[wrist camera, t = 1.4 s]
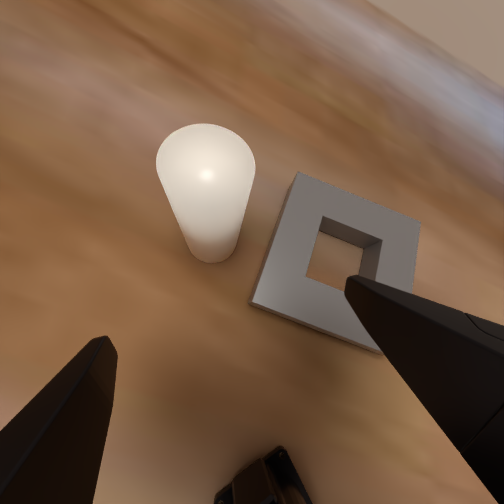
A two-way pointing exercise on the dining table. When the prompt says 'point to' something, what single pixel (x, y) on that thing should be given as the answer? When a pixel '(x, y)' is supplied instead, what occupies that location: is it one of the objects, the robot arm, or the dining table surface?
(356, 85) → the dining table surface
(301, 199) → the collar block
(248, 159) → the peg
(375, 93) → the dining table surface
